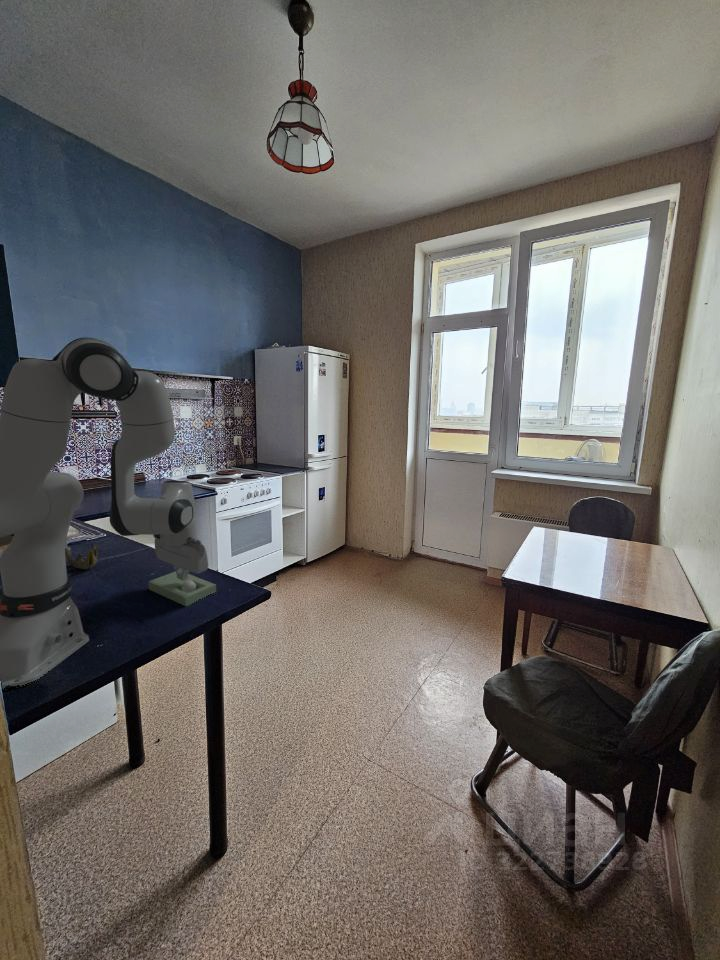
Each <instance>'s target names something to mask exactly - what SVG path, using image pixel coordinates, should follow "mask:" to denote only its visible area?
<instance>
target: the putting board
mask: <svg viewBox="0 0 720 960" xmlns="http://www.w3.org/2000/svg"><path fill="white" fill-rule="evenodd" d="M188 580H191V581H193V582H195V584H196V589H195V590H194V591H192V592H190V593H186V592H183V591H182V590H181V586H182V584H183V583H184V582H185V581H188ZM185 581H182V580H180V579H178V578H177V573H176V572H175V571H172V572H170V573H167V574H165V575H161V576H160V577H157V578H154V579H151V580H148V582H147V583H148V584H147V585H148V590H150V591H151V592H154V593H156V594H158V595H160V596H162V597H164V598H167V599H169V600H171V601H173V602H175V603H178V604H181V605H182V606H184V607H189V606H190V605H192V603H193V604H195V603H196V601H197V602H198V600H199V599H201V600H203V599H205V598H207V597H206V596H208V595H210V594H212V595H214V594H216V593H217V584H215V583H213V582H210V581H208V580H205V579H202V578H199V577H197V576H195V575H193V574H191V573H188V579H187V580H185ZM215 592H216V593H215ZM213 593H214V594H213ZM210 596H211V595H210ZM204 597H205V598H204ZM208 597H209V596H208ZM202 598H203V599H202ZM199 601H200V600H199ZM194 602H195V603H194Z"/></svg>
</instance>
